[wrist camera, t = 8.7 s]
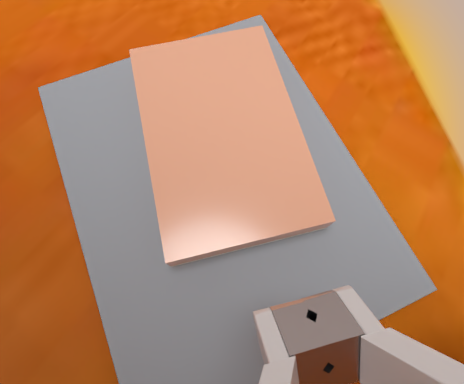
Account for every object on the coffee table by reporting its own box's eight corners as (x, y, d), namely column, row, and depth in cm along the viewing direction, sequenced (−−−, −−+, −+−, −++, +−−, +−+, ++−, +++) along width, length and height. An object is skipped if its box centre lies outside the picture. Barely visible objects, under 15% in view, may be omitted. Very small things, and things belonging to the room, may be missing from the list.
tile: (335, 220, 16) (262, 25, 20) (165, 263, 15) (128, 49, 19) (325, 228, 17) (259, 46, 22) (171, 267, 16) (137, 69, 21)
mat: (139, 443, 14) (136, 447, 14) (41, 91, 21) (38, 87, 20) (432, 289, 16) (437, 289, 16) (260, 19, 23) (260, 14, 23)
